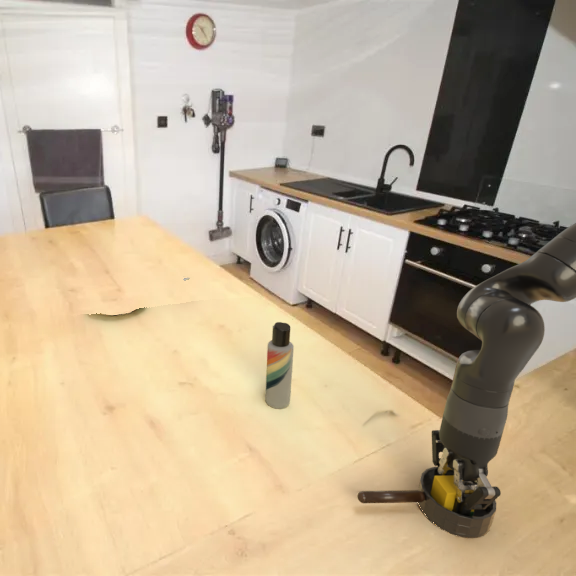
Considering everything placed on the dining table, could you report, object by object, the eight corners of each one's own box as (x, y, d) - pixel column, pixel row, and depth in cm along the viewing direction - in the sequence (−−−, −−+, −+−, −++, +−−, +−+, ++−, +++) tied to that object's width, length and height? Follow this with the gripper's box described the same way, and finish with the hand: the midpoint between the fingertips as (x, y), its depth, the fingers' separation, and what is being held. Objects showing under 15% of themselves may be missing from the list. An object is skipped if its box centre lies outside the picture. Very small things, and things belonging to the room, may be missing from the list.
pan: (464, 483, 72) (468, 465, 71) (506, 537, 63) (512, 518, 61) (405, 484, 72) (408, 467, 71) (438, 538, 63) (443, 519, 61)
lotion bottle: (274, 391, 100) (278, 317, 93) (294, 401, 96) (300, 324, 89) (260, 402, 96) (263, 325, 89) (280, 412, 92) (285, 333, 85)
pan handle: (420, 495, 68) (422, 487, 67) (426, 504, 66) (428, 496, 65) (354, 496, 68) (356, 488, 67) (359, 506, 66) (360, 497, 65)
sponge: (459, 497, 69) (465, 474, 67) (472, 516, 65) (479, 492, 64) (429, 498, 69) (434, 475, 67) (441, 517, 65) (447, 493, 64)
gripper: (535, 452, 54) (505, 545, 60) (468, 391, 68) (448, 472, 74) (478, 454, 55) (454, 546, 60) (422, 392, 68) (406, 473, 74)
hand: (451, 505), depth 67 cm, fingers closed on sponge, 3 cm apart
